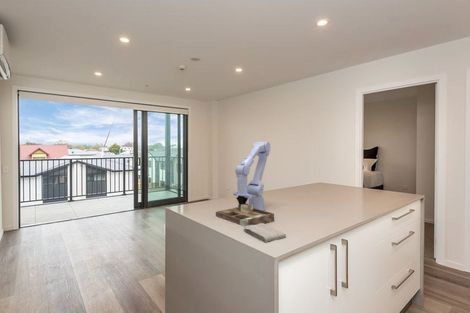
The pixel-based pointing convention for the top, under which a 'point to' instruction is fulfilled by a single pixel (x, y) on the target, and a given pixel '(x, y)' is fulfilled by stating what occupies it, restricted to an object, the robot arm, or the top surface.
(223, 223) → the top surface
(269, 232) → the washcloth
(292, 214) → the top surface
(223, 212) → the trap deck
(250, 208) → the birch block
